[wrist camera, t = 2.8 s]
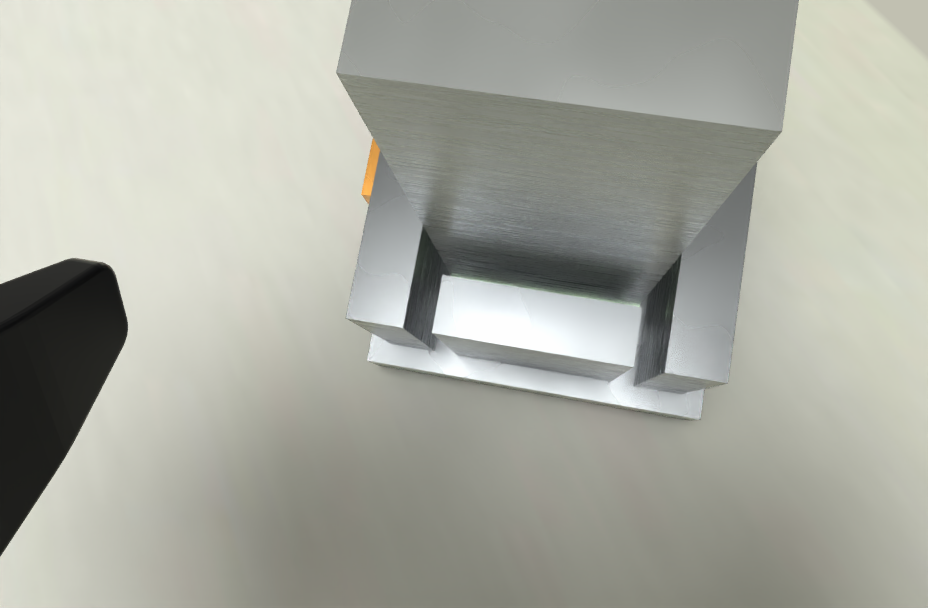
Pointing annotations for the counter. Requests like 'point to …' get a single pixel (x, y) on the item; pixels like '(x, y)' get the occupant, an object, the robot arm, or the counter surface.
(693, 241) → the grey holder with base
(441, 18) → the column
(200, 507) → the counter surface
